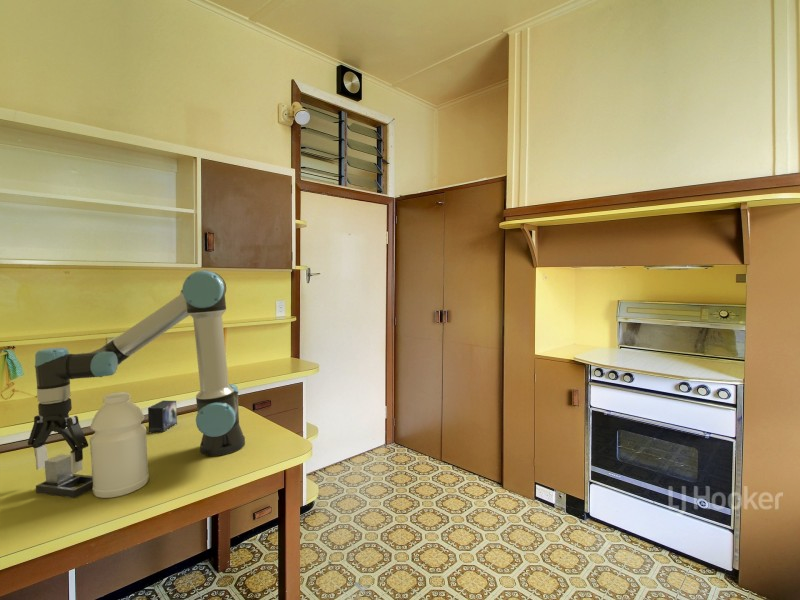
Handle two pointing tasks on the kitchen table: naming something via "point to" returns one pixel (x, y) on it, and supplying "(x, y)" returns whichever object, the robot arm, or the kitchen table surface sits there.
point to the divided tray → (67, 487)
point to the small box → (162, 416)
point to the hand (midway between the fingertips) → (59, 469)
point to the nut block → (58, 470)
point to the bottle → (118, 447)
